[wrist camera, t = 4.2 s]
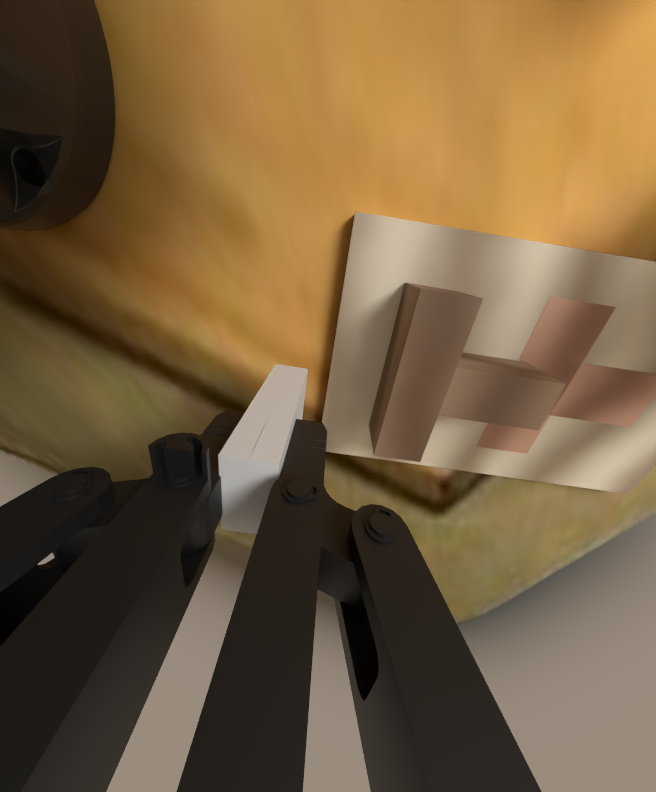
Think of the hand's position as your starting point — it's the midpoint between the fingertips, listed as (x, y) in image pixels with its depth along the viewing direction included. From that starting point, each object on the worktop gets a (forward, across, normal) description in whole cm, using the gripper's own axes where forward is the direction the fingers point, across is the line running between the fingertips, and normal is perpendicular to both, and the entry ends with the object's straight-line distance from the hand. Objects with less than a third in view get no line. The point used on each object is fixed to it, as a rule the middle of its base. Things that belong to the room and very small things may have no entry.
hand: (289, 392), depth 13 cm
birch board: (+7, +15, 0) cm, 16 cm away
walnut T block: (+6, +10, 0) cm, 11 cm away
